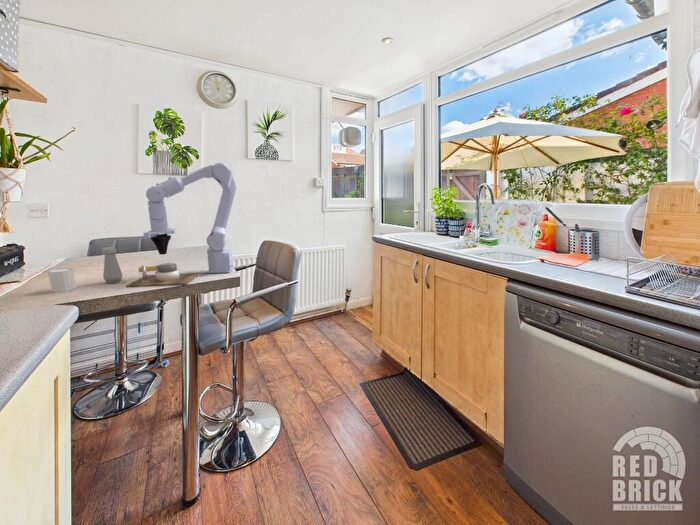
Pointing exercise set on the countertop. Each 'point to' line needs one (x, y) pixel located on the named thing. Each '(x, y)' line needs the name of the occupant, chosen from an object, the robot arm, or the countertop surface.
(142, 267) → the stop pin
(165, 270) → the lid
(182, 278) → the board
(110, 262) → the salt shaker
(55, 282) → the grey tapered cup
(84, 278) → the countertop surface
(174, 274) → the jar
